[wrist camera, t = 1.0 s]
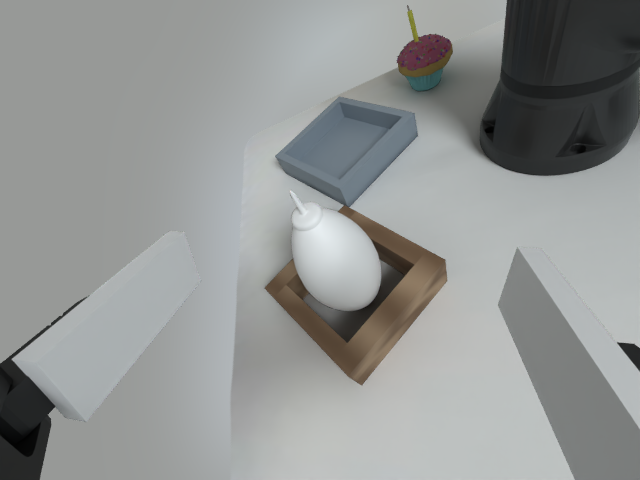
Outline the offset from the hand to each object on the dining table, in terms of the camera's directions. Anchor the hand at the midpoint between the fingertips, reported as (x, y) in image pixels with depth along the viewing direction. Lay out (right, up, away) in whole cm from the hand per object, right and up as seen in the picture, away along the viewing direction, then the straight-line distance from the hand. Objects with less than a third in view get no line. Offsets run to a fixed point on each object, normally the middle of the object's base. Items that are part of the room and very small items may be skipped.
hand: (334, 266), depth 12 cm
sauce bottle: (+4, -5, +23) cm, 24 cm away
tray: (+4, +15, +37) cm, 40 cm away
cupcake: (+18, +29, +40) cm, 53 cm away
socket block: (+4, -5, +23) cm, 24 cm away
